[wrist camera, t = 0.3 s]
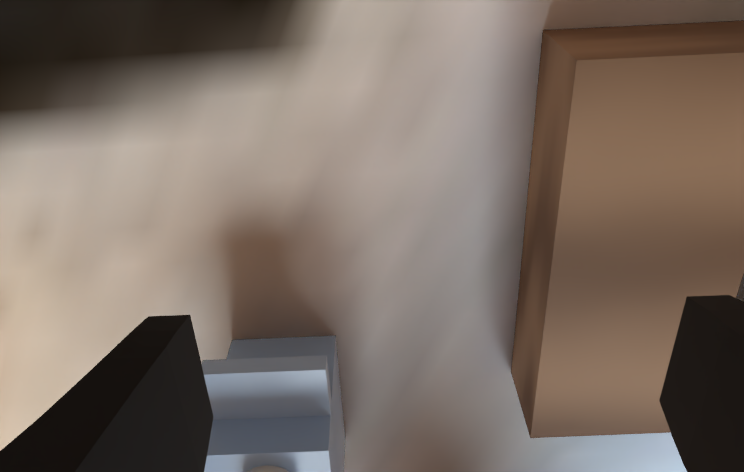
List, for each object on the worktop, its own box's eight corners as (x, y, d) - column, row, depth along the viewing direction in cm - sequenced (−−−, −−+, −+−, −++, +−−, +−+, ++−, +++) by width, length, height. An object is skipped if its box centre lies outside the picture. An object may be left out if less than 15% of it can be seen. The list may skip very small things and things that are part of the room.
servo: (348, 466, 25) (344, 615, 20) (258, 470, 25) (232, 619, 20) (331, 292, 21) (321, 427, 16) (223, 297, 21) (178, 433, 16)
